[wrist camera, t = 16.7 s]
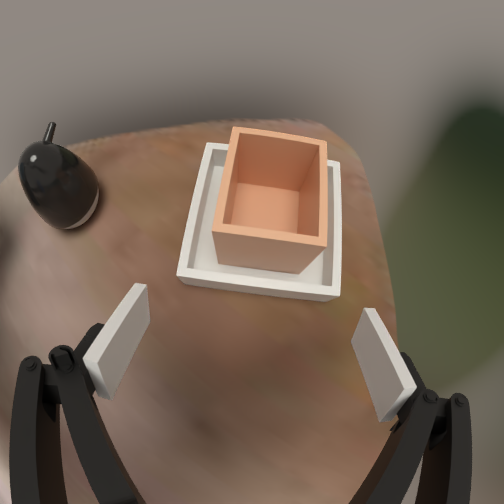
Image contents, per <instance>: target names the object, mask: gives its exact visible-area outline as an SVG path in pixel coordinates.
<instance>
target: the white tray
mask: <svg viewBox="0 0 504 504" xmlns="http://www.w3.org/2000/svg"><path fill="white" fill-rule="evenodd" d="M228 147H229V144H219V143H208V142H207V144H206V147H205V151H204V155H203V158H202V162H201V166H200V170H199V174H198V178H197V182H196V186H195V190H194V194H193V198H192V202H191V207H190V211H189V216H188V220H187V225H186V229H185V234H184V239H183V244H182V248H181V254H180V259H179V264H178V269H177V275H176V276H177V277H178V278H179V279H180V280H181V281H182V282H183V283H184V284H187V285H194V286H200V287H207V288H214V289H221V290H228V291H236V292H243V293H251V294H259V295H267V296H276V297H284V298H293V299H302V300H312V301H322V302H327V301H329V300H332V299H334V298H337V297H339V296H340V284H341V252H342V211H341V179H340V162H336V161H331V160H327V174H328V228H327V247H326V248H325V249H324V250H323V251H322V252H321V253H320V254H319V255H318V256H317V257H316V258H315V259H314V260H313V261H312V262H311V263H310V264H309V265H308V266H307V267H306V268H305V269H304V270H303V271H302V272H301V273H300V274H299V275H298V274H290V273H282V272H274V271H267V270H259V269H251V268H244V267H237V266H229V265H222V264H218V260H217V255H216V250H215V245H214V241H213V236H212V226H213V220H214V215H215V210H216V205H217V199H218V194H219V189H220V185H221V180H222V175H223V170H224V165H225V161H226V156H227V152H228Z"/></svg>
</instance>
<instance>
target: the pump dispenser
mask: <svg viewBox="0 0 504 504" xmlns="http://www.w3.org/2000/svg"><path fill="white" fill-rule="evenodd" d="M55 127H56V124H55V123H54V122H50V123H49V125H48V128H47V130H46V132H45V135H44V138H43V140H42V141H38V142H34V143H32V144H30V145H29V146H28V147H27V148H26V149H25V150H24V151H23V153H22V155H21V156H20V160H19V164H18V171H19V178H20V181H21V185H22V187H23V190H24V192H25V194H26V197H27V198H28V200H29V202H30V204H31V205H32V207H33V208H34V210H35V211H36V212H37V213H38V215H39V216H40V217H41V218H42V219H43V220H44V221H45V222H46V223H47V224H49V225H50V226H52V227H54V228H57V229H70V228H75V227H77V226H80V225H81V224H83V223H84V222H85V221H87V220H88V219H89V217H90V216H91V215H92V213H93V212H94V210H95V208H96V205H97V202H98V196H99V190H98V181H97V177H96V175H95V173H94V172H93V170H92V169H91V168H90V167H89V166H88V165H87V164H86V163H85V162H84V161H83V160H82V159H81V158H80V157H78V156H77V155H76V154H74V153H73V152H71V151H70V150H68V149H66V148H64V147H62V146H60V145H57V144H54V143H52V139H53V135H54V131H55Z"/></svg>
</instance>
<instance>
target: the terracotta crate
mask: <svg viewBox="0 0 504 504" xmlns="http://www.w3.org/2000/svg"><path fill="white" fill-rule="evenodd" d="M327 228H328V174H327V143H326V141H323V140H318V139H313V138H308V137H303V136H297V135H291V134H285V133H279V132H273V131H266V130H258V129H250V128H242V127H233V129H232V134H231V138H230V143H229V147H228V152H227V156H226V161H225V165H224V170H223V175H222V180H221V185H220V189H219V194H218V199H217V205H216V210H215V215H214V220H213V226H212V236H213V241H214V245H215V250H216V255H217V260H218V264H222V265H229V266H237V267H244V268H251V269H259V270H267V271H274V272H282V273H290V274H298V275H299V274H300V273H301V272H302V271H303V270H304V269H305V268H306V267H307V266H308V265H309V264H310V263H311V262H312V261H313V260H314V259H315V258H316V257H317V256H318V255H319V254H320V253H321V252H322V251H323V250H324V249H325V248H326V247H327Z"/></svg>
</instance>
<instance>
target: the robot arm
mask: <svg viewBox="0 0 504 504" xmlns="http://www.w3.org/2000/svg"><path fill="white" fill-rule="evenodd" d="M149 323H150V314H149V304H148V293H147V285H146V284H139V283H135V284H134V285H133V286H132V288H131V289H130V291H129V292H128V293H127V295H126V296H125V297H124V299H123V300H122V301H121V303H120V304H119V306H118V307H117V308H116V310H115V311H114V313H113V314H112V315H111V317H110V318H109V320H108V321H107V323H106V324H105V325H104V324H100V323H97V324H95V325H94V326H92V327H91V328H90V329H89V330H88V332H87V333H86V335H85V336H84V337H83V339H82V340H81V342H80V343H79V344H78V346H77V347H76V349H75V350H74V351H73V349H72V348H71V347H69V346H66V345H59V346H57V347H55V348H53V349H52V350H51V351H50V353H49V360H50V362H51V364H52V365H47V364H42V362H41V360H40V359H39V358H38V357H36V356H29V357H27V358H25V359H24V360H23V361H22V362H21V364H20V367H19V372H18V377H17V383H16V388H15V395H14V402H13V409H12V418H11V430H10V452H9V467H10V488H11V499H12V504H68V502H67V496H66V490H65V484H64V477H63V468H62V458H61V445H60V404H62V407H63V411H64V414H65V418H66V421H67V425H68V428H69V431H70V434H71V437H72V440H73V443H74V446H75V449H76V452H77V454H78V457H79V459H80V462H81V465H82V467H83V469H84V472H85V474H86V476H87V479H88V481H89V483H90V485H91V488H92V490H93V492H94V494H95V496H96V498H97V500H98V502H99V504H146V503H145V501H144V500H143V498H142V496H141V495H140V493H139V492H138V490H137V488H136V487H135V485H134V483H133V481H132V480H131V478H130V476H129V474H128V473H127V471H126V469H125V467H124V465H123V463H122V461H121V460H120V458H119V456H118V454H117V452H116V449H115V447H114V445H113V443H112V441H111V439H110V437H109V435H108V432H107V430H106V428H105V425H104V423H103V421H102V418H101V416H100V413H99V411H98V408H97V405H96V403H95V400H94V398H93V393H94V391H95V390H96V392H97V394H98V396H99V397H102V398H105V399H108V400H111V401H112V399H113V397H114V395H115V393H116V391H117V388H118V386H119V384H120V382H121V380H122V378H123V375H124V373H125V371H126V369H127V367H128V365H129V363H130V361H131V359H132V357H133V355H134V353H135V351H136V349H137V347H138V345H139V343H140V341H141V339H142V337H143V335H144V333H145V331H146V329H147V327H148V325H149ZM351 343H352V346H353V349H354V351H355V354H356V357H357V359H358V362H359V365H360V367H361V370H362V373H363V376H364V378H365V381H366V384H367V387H368V390H369V393H370V396H371V399H372V402H373V404H374V407H375V410H376V414H377V417H378V420H379V422H385V421H391V420H392V419H393V418H394V417H395V416H396V414H397V415H398V418H399V420H398V421H397V422H396V423H395V424H394V426H393V427H392V428H391V429H390V431H392V432H391V434H390V436H389V438H388V440H387V442H386V444H385V446H384V448H383V450H382V451H381V453H380V455H379V457H378V459H377V460H376V462H375V464H374V466H373V467H372V469H371V471H370V472H369V474H368V475H367V477H366V479H365V480H364V482H363V483H362V485H361V486H360V488H359V489H358V491H357V492H356V494H355V495H354V497H353V498H352V500H351V501H350V502H349V504H401V502H402V500H403V498H404V496H405V494H406V492H407V490H408V488H409V486H410V484H411V481H412V479H413V477H414V475H415V473H416V470H417V468H418V465H419V463H420V461H421V458H422V455H423V463H422V469H421V475H420V482H419V486H418V492H417V496H416V501H415V504H469V501H470V491H471V476H472V436H471V435H472V434H471V419H470V408H469V402H468V399H467V398H466V397H465V396H464V395H463V394H460V393H455V394H453V395H452V396H451V398H450V399H445V398H439V397H438V395H437V394H436V393H435V392H434V391H433V390H430V389H426V387H425V385H424V383H423V381H422V379H421V377H420V375H419V374H418V372H417V371H416V368H415V366H414V364H413V362H412V360H411V359H410V357H409V356H407V354H405V353H404V352H399V351H398V349H397V347H396V345H395V344H394V342H393V340H392V338H391V336H390V335H389V333H388V331H387V329H386V327H385V326H384V324H383V322H382V320H381V319H380V317H379V315H378V313H377V312H376V310H375V308H364V309H363V312H362V314H361V317H360V320H359V322H358V325H357V327H356V330H355V332H354V335H353V337H352V340H351ZM423 453H424V454H423Z"/></svg>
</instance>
